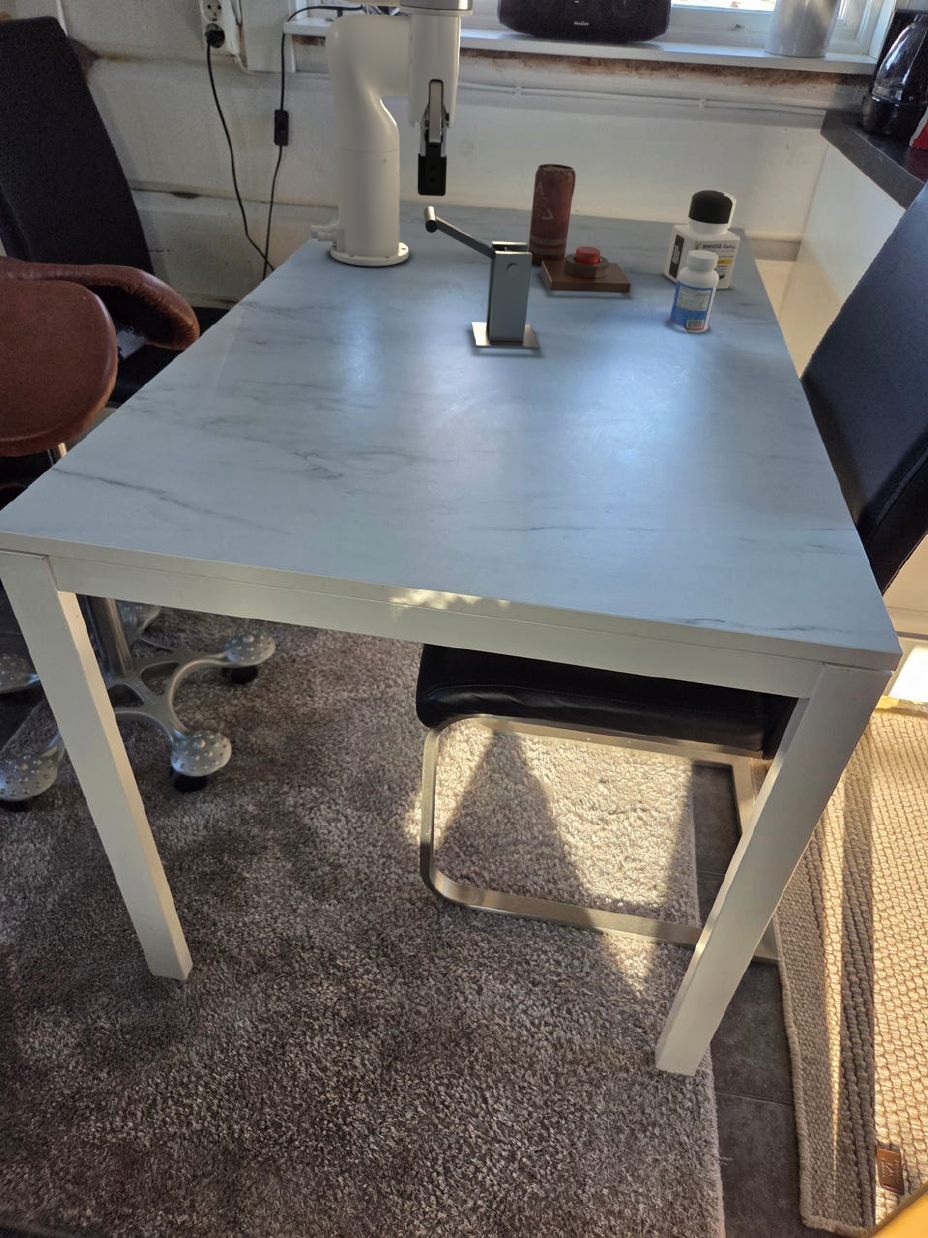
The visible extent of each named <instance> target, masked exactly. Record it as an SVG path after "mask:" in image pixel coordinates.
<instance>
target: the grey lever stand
mask: <svg viewBox="0 0 928 1238" xmlns="http://www.w3.org/2000/svg"><path fill="white" fill-rule="evenodd" d="M528 245H529V243H527V242H514V241H513V242H512V241H492V242H491V247H492V248H494V249H496V250H498V251H495V261H494V260H493V259H491V258H490V265H489V280H488V290H487V291H488V293H487V307H486V320H485V321H486V322H471V331H472V334H473V340H474V344H475V348H476V349H509V350H511V349H512V350H539V349H540V346H539V343H538V341H537V337H536V335H535V331H534V329H533V327H532V324H531V323H527V321H526V320H527V313H528V304H529V303H528V302H529V292H530V282H531V281H530V280H531V273H532V265H533V263H532V253H530V252H528ZM504 247H507V248H509V249H510V250H512V251H514V252H503V251H502V250H503V249H504Z"/></svg>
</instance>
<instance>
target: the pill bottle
mask: <svg viewBox="0 0 928 1238" xmlns="http://www.w3.org/2000/svg"><path fill="white" fill-rule="evenodd" d="M686 262H687V265H688V266H687V267H685V268H683V269H682V270H681V271H680V273H679V276H678V281H677V284H676V287H675V291H674V296H673V301H672V305H671V310H670V315H669V320H670V321H671V322H672V323H674V324H676V325H679V326H681V327H683V328H684V329H685V331H686V333H688V334H689V333H690V334H694V333H695V334H696V333H702V332H704V331H706V330H707V329H708V327H709V324H710V320H711V314H712V312H713V311H712V310H713V306H714V302H715V298H716V294H717V290H718V289H717V285H718V281H719V275H718V273H717V272H716V271H714V268H716V266H717V262H718V255H717V254H716V253H714V252H710V251H705V250H692V251H690V252H689V253H688V257H687V260H686Z"/></svg>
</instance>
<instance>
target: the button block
mask: <svg viewBox="0 0 928 1238" xmlns="http://www.w3.org/2000/svg"><path fill="white" fill-rule="evenodd" d="M575 257H576V252H575V253H569V254H568V255H565V259H564V261H542V265H541V266H540V277H541V279H542V281H543V284H544V286H545V289H549V290H550V291H559V292H560V291H564V292H589V293H590V292H593V293H596V292H597V293H620V294H621V293H622V294H623V293H624V294H625V293H626V294H629V293H630V291H631V286H632V283H631V282H630V280H629V279H628V277H627V275H626V274H625V273H624V271H623V269H622V268H621V267H620V266H619V264H618V263H617V262H610V261H609V260H608V258H607V257H604V256H602V255H600V258H599V263H596V264H585V263H580V262H577V261H575Z"/></svg>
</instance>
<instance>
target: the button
mask: <svg viewBox="0 0 928 1238" xmlns="http://www.w3.org/2000/svg"><path fill="white" fill-rule="evenodd" d="M575 253H576V257H575V261H577V262H580V263H585V264H596V263H599V258H600V256H601V250H600V249H599V248H597V247H592V246H579V247H576V251H575Z"/></svg>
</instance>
